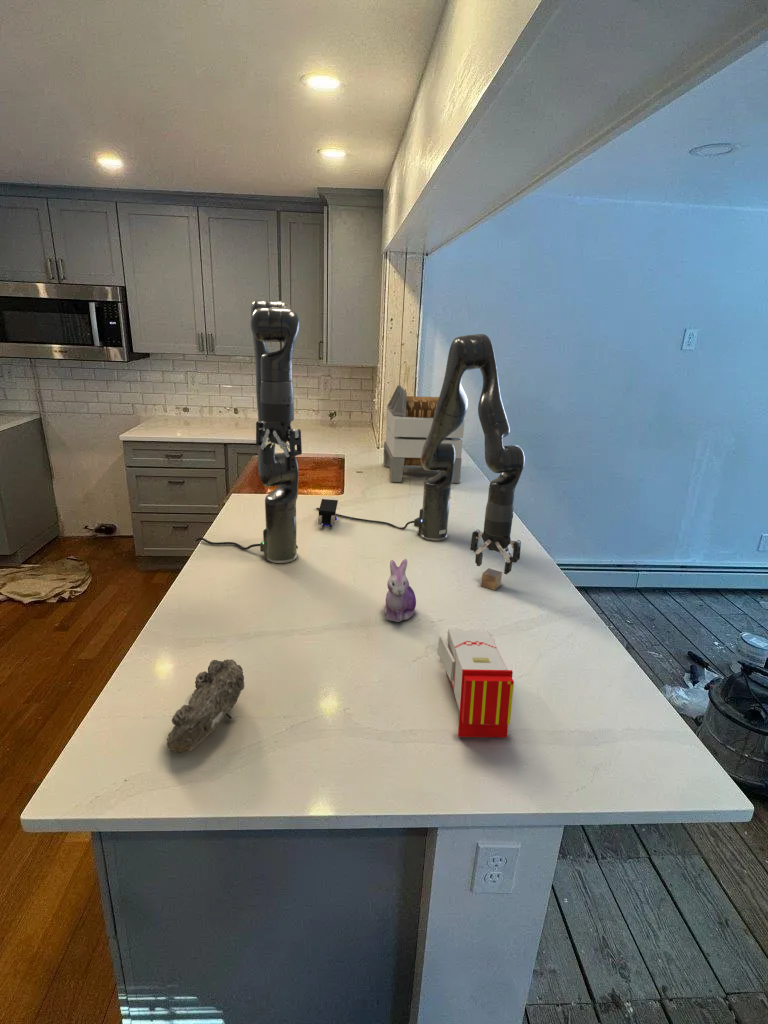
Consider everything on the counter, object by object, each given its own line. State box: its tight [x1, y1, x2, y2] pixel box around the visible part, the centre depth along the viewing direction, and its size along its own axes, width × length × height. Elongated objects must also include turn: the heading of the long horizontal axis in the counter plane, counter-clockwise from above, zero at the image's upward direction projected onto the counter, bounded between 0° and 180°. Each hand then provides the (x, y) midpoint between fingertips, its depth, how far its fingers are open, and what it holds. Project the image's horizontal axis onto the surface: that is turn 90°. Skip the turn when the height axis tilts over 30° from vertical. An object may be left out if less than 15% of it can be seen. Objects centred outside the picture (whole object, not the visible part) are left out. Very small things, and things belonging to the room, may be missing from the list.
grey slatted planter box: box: [383, 384, 465, 484], centre depth 268 cm, size 34×33×41 cm
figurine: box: [384, 558, 417, 623], centre depth 145 cm, size 9×10×15 cm
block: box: [480, 567, 503, 591], centre depth 164 cm, size 4×4×4 cm
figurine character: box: [317, 498, 339, 530], centre depth 204 cm, size 7×8×15 cm
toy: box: [437, 628, 515, 738], centre depth 117 cm, size 12×13×30 cm
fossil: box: [166, 658, 245, 754], centre depth 106 cm, size 22×10×15 cm
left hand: (278, 468), depth 136 cm, fingers open, 8 cm apart
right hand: (492, 569), depth 163 cm, fingers open, 8 cm apart
